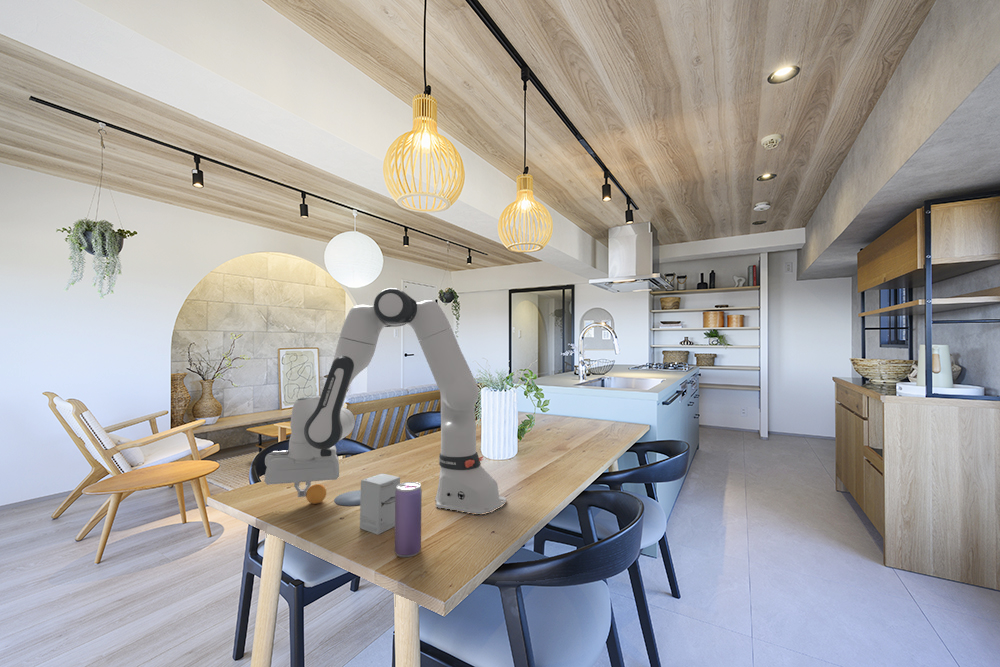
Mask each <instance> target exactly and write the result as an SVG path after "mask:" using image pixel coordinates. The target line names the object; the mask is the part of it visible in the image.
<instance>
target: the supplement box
mask: <svg viewBox="0 0 1000 667" xmlns="http://www.w3.org/2000/svg"><path fill="white" fill-rule="evenodd" d="M398 484H401V476H397V475H396V476H395V475H392V474H386V473H379V474H376V475H374V476H370V477H367V478H364V479H361V480H360V490H361V499H360V505H359V506H360V507H359V509H360V510H359V511H360V513H359V529H360V530H363V531H367V532H369V533H371V534H375V535H378V536H379V535H381V534H383V533H384V532H386V531H388V530H390V529H392V528H395V491H396V486H397V485H398Z"/></svg>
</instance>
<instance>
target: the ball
mask: <svg viewBox="0 0 1000 667" xmlns="http://www.w3.org/2000/svg"><path fill="white" fill-rule="evenodd" d="M326 496H327V489H326V487H325V486H324V485H323V484H320V483H315V484H313V485H310V487H309V488H308V490H307V491H306V501H307V502H308V503H310V504H311V505H312V504H313V505H316V504H320V503H322V502H323V501H324V500H325V498H326Z"/></svg>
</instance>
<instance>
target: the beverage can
mask: <svg viewBox="0 0 1000 667" xmlns="http://www.w3.org/2000/svg"><path fill="white" fill-rule="evenodd" d="M422 491H423V490H422V485H421V483H420V482H417V481H407V482H406V481H405V482H400V484H398V485H397V486H396V491H395V527H394V553H395V554H396V555H397V557H399V558H411V557H415V556H416V555H418V554H419V553H420V551H421V549H422V506H423V505H422V504H423V503H422V500H423V498H422V493H423V492H422Z"/></svg>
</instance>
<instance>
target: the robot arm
mask: <svg viewBox="0 0 1000 667" xmlns="http://www.w3.org/2000/svg"><path fill="white" fill-rule="evenodd" d="M373 301H374V302H373V305H367V304H359V305H358V304H357V305H355V306H352V308H351V309H349V311H348V314H347V316H346V317H345V319H344V323H343V325H342V327H341V331H340V334H339V337H338V341H337V346H336V348H335V352H334V357H333V360H332V362H331V366H330V369H329V371H328V375H327V378H326V380H325V383H324V386H323V389H322V392H321V394H320V395H309V396H304V397H300V398H298V399H296V400H295V402H294V403H293V406H292V408H291V417H290V423H289V424H290V425H289V426H290V431H291V433H290V437H289V441H288V450H279V451H278V450H273V451H271V452H269V453H267V454H266V455H265V457H264V465H265V467H266V469H265V474H264V478H263V479H264V483H265V484H266V485H269V486H271V485H281V484H294V488H295V490H296V491H297V498H304V497H306V493H307V490H308V489H309V488H310V487H311V486H312V485H311V484H312V482H323V481H335V480H338V479H339V477H340V463H339V457H338V455H337V447H336V444H337V443H338V442H339V441H341V440H343V439H344V438H345V437H347V436H348V435H350V434H351V433H352V432H353V431H354V429H355V426H356V417H355V415H354V413H353V412H352V411H351V410H350V409H349V408H346V407H343V406H344V403H345V399H346V396H347V393H348V391H349V387H350V385H351V384H352V382H353V380H354V379H355V378H356V377H357V376H358V375H359V374H360V373H361V372H362V371H364V370H365V369H366V368H367V367H368V366H369V365H370V363H371V362H372V360H373V359H372V358H373V357H374V354H375V351H376V348H377V344H378V341H379V336H380V334H381V332H382V330H383V329H384V328H388V327H389V328H391V327H402V326H405V325H409V326H410V327H411V328H412V329H413V332H414V333H415V336H416V338H417V340H418V343H419V345H420V348H421V350H422V352H423V355H424V357H425V360H426V362H427V364H428V367H429V368H430V369H429V370H430V371H431V374H432V377H433V378H434V382H435V383H436V386H437V388H438V391H439V392H440V453H439V458H438V460H439V462H438V464H439V466H440V467H439V470H440V471H439V477H438V478H439V480H438V487H437V491H436V494H435V495H436V496H435V498H434V500H436V501H435V502H436V503H435V507H436V508H437V507H438V508H437V509H441V508H445V509H444V510H447V509H450V510H449V511H452V510H457V511H456V512H458V511H464V512H470V513H476V514H482V513H486V512H490V511H492V510H494V509H496V508H498V507H500V506H501V505H502V504H504V503H505V501H506V502H507V497H505V496H504V495H503V496H502V495H500V493H499V492H500V491H499V486H498V482H497V480H495V478H494V477H493V476H492V475H491V474H490V473H489V472H488V471H487V470H486V469H485V468H484V467H483V466H482V465H481V462H482V461H484V456H483V455H482V456H479V453H478V452H477V423H476V409H475V405H476V403H477V401H478V399H479V386H478V384H477V382H476V380H475V378H474V375H473V373H472V371H471V369H470V367H469V364H468V363H467V360H466V358H465V356H464V354H463V352H462V350H461V348H460V345H459V343H458V341H457V340H458V339H457V338H456V336H455V334H454V331H453V328H452V326H451V324H450V321H449V320H448V318H447V316H446V314H445V313H444V311H443V309H442V307H441V306H440V305H439V303H438V302H436V301H435V300H430V299H429V300H428V299H427V300H422V301H419V302H417V301H416V300H415V299H414V298H412V297H411V296H410V295H408V293H406V292H405V291H403V290H401V289H398V288H396V287H394V288H393V287H388V288H385V289H383V290H381V291H380V292H379V293H378V294H376V297H375V298H374V300H373ZM301 483H305V487H304V489H303V488H302V489H301V487H300V484H301ZM501 501H503V502H501Z"/></svg>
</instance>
